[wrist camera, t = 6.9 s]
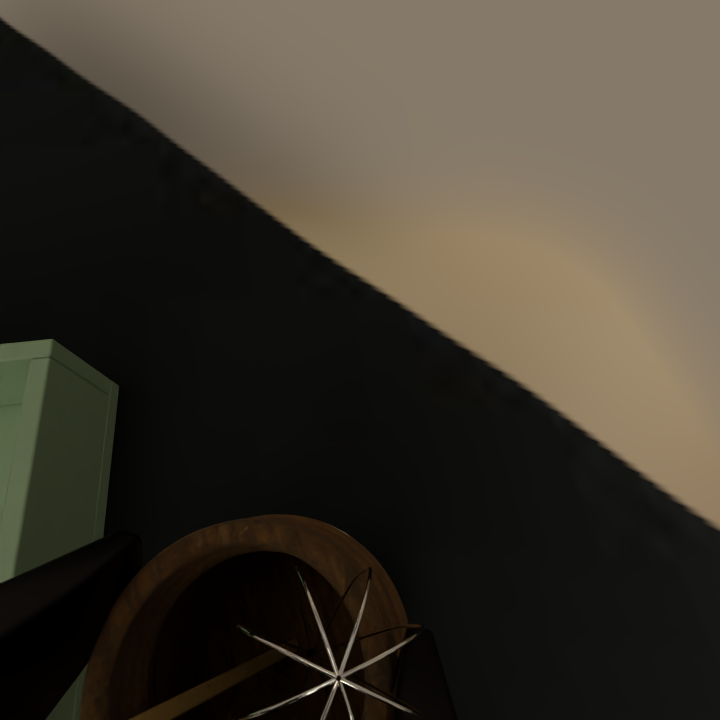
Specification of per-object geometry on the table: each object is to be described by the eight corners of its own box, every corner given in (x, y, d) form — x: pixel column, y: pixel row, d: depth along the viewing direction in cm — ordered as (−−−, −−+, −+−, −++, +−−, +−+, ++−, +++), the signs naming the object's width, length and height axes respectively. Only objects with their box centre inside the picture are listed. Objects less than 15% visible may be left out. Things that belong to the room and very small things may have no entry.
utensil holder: (446, 709, 14) (677, 1211, 3) (220, 819, 13) (-707, 2091, 2) (361, 499, 16) (300, 308, 5) (166, 583, 15) (-399, 573, 4)
